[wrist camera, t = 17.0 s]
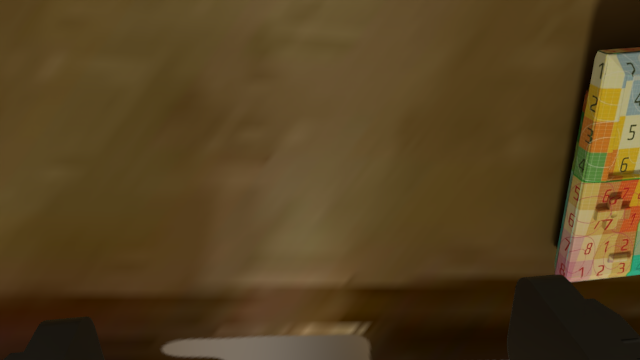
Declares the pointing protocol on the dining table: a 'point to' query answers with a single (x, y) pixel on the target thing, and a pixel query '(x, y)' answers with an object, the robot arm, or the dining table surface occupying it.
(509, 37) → the dining table surface
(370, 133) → the dining table surface
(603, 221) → the puzzle game
